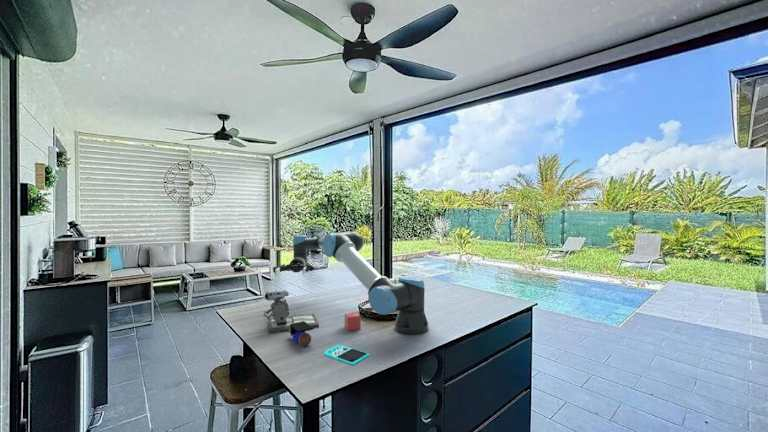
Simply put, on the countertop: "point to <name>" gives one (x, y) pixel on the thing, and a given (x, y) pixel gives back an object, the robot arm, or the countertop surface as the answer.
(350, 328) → the red die
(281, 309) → the figurine
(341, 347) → the handheld game console
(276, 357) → the countertop surface
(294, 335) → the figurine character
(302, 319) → the divided rectangular tray
